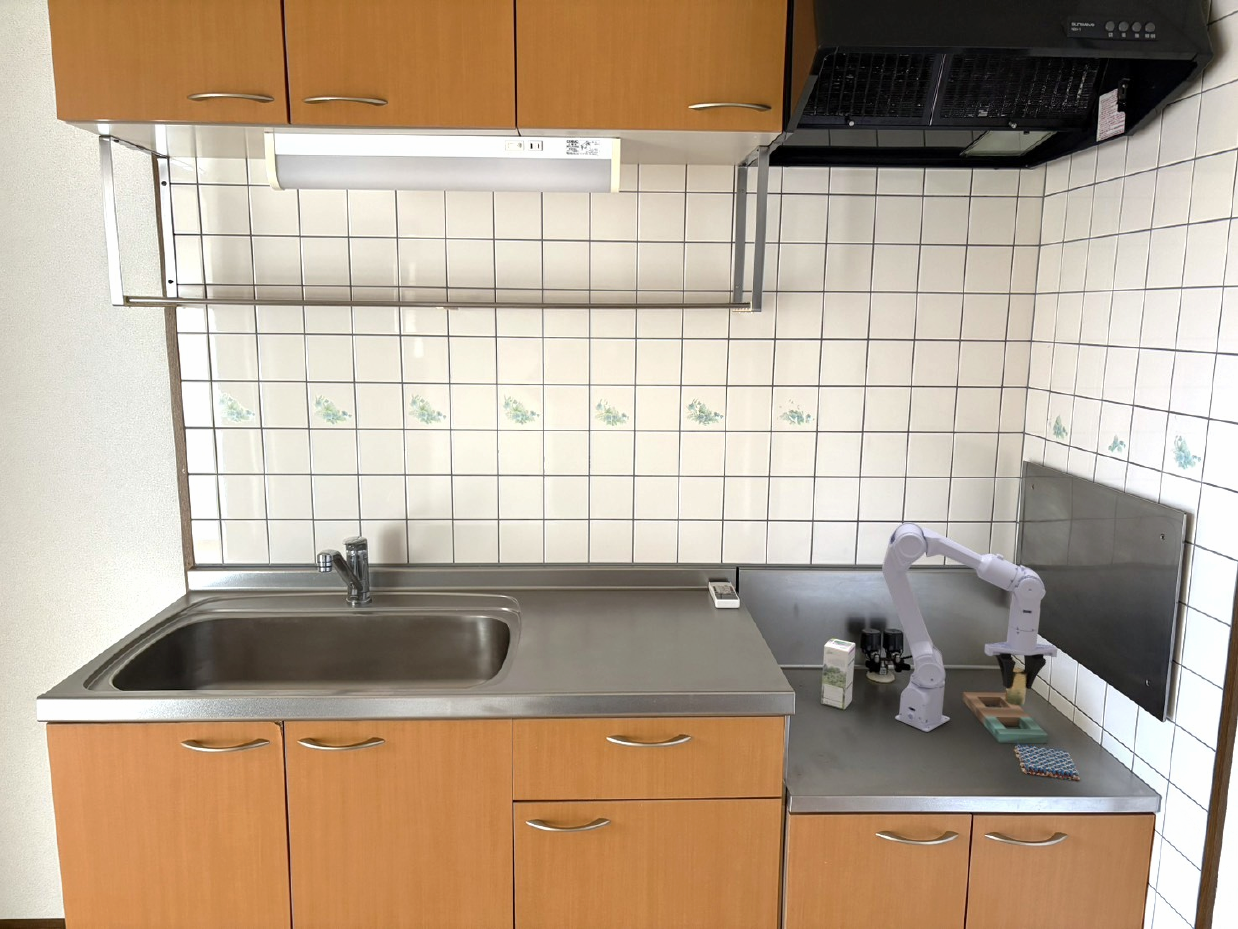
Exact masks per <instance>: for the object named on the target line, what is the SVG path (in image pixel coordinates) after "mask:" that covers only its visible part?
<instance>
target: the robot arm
mask: <svg viewBox="0 0 1238 929" xmlns="http://www.w3.org/2000/svg"><path fill="white" fill-rule="evenodd" d="M924 554H925V555H926V556H925V557H926V558H930V557H935V556H938V555H939V556H940V555H941V556H943V557H944V558H945V557H946V558H948V559H950V560H951V561H952V560H953V561H955V562H957V563H960V564H962V565H965V566H966V567H969V568H971V569H973V570H975V572H976V575H977V577H978V578H980V579H981V580H983V581H985V582H987V583H990V584H992V585H995V586H996V587H998V588H1001V589H1003V590H1004V591H1008V592H1012V595H1011V602H1010V605H1009V615H1008V616H1009V617H1008V625H1007V626H1008V627H1007V634H1006V641H1002V642H994V643H985V644H984V654H986V655H987V656H988V657H993V656H994V657H995V658H996V661H997V664H998V665H999V666H998V667H999V669H1000V673H1001V678H1002V686H1004V688H1005V689H1006V688H1007V689H1010V687H1011V682H1012V673H1013V669H1014V667H1015V666H1016V664H1017V662H1016V661H1015V660H1014V659H1013V656H1024V657H1023V658H1024V659H1023V660H1024V670H1026V671H1027V672H1028V676H1027V684H1026V690H1031V689H1032V686H1033V685H1034V681H1035V680H1036V678H1037V675H1038V674H1039V673H1040V671H1042V669H1043V668H1044V667H1045V665H1046V663H1047V659H1045V658H1044V656H1045V657H1048V656H1049V657H1051V658H1057V656H1058V648H1057V647H1056V646H1055V645H1054V644H1043V643H1042V644H1041V643H1037V642H1038V634H1039V625H1040V624H1039V623H1040V616H1041V602H1042V601H1041V600H1043V598H1044V597H1045V595H1046V593H1047V591H1046V590H1045V584H1044V582H1043V581H1042V579H1041V577H1040V576H1039V574H1038V573H1037V572H1035V571H1034V570H1033V569H1032V568H1030V567H1026V566H1024V565H1022V564H1020V565H1017V564H1014V563H1012V562H1010V561H1008V560H1007V559H1004V558H1005V556H1003V554H1000V553H996V555H995V554H993V553H991V552H990V553H987V554H982V555H981V554H980V553H978V552H975V551H973V550H971V549H969V548H968V547H966V546H964V545H962V544H961V543H959V542H955V541H954V540H952V539H950V538H948V537H946V536H944V535H942V534H941V533H939V532H936V531H934V530H932V529H930V528H929V527H925V526H922V528H921V526H920V525H918V524H917V523H914V522H909V521H908V522H904V523H901V524H899V525H898V526H897V527H896V529H894V530H893V532H892V533H891V535H890V536H889V541H888V545H887V549H886V552H885V556H884V559H883V563H882V567H881V568H882V569H881V571H882V575H883V578H884V580H885V582H886V585H887V589H888V591H889V593H890V596H891V600H892V601H893V604H894V607H895V609H896V612H897V615H898V618H899V620H900V623H901V626H902V628H903V631H904V635H905V636H906V639H907V642H908V644H909V649H910V652H911V656H912V661H913V667H914V671H913V672H912V673H911V674H910V678H909V683H908V685H907V687H905V688H903V690H902V692H901V693H900V700H899V714H898V715H896V716H895V720H897V721H899V722H902V723H905V724H906V725H909V726H912V727H913V728H916V729H918V730H920V731H923V732H925V733H927V732H928V733H929V732H930V731H932V730H934V729H935V728H939V726H942V725H944V723H946V722H948V721H950V720H951V719H950V717H949V716H946V715H943V707H944V696H945V687H946V685H945V684H946V680H945V679H946V670H945V667H944V663H943V661H944V660H943V659H944V658H943V655H942V652H941V651H940V650H939V649H938V647H936V646H935V645H934V643H933V640H932V638H931V636H930V635H929V632H928V629H927V626H926V624H925V621H924V618H923V615H922V613H921V611H920V610H921V609H920V607H919V605H918V602H917V599H916V597H915V594H914V591H913V589H912V586H911V585H912V584H911V583H910V581H909V578H908V575H907V573H908V570H909V569H910V568H911V566H912V564H913V563H915V562H917V560H919V559H921V558H922V556H924Z"/></svg>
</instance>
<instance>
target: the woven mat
mask: <svg viewBox="0 0 1238 929" xmlns="http://www.w3.org/2000/svg"><path fill="white" fill-rule="evenodd" d="M1016 744H1017V745H1016V746H1014V748H1013V751H1014V752H1015V757H1016V758H1017V759H1018V758H1019V759H1018V760H1019V762H1020V763H1019V766H1020V767H1021V768H1020V769H1021V771H1022V773H1024V774H1027V773H1030V774H1029V775H1034V774H1036V776H1041V777H1042V776H1043V777H1048V778H1050V777H1051V778H1056V777H1062V778H1061V779H1063V778H1064V777H1066V778H1071V779H1074V781H1076V780H1077V781H1080V780H1081V778H1080V777H1079V774H1080V773H1079V770H1077V769H1076V768H1077V766H1076V765H1075V763H1074V761H1073V759H1072V758H1071V755H1070V753H1069V752H1067V750H1063V751H1062V748H1059V750H1058V749H1053V748H1052V747H1051V748H1045V747H1044V746H1042V748H1041V747H1037V746H1036V745H1034V746H1033V745H1032V746H1031V745H1028V744H1025V745H1023V744H1021V745H1020V743H1016ZM1042 772H1043V773H1042ZM1068 775H1069V776H1068ZM1071 779H1070V780H1071Z"/></svg>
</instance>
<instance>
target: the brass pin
mask: <svg viewBox="0 0 1238 929" xmlns="http://www.w3.org/2000/svg"><path fill="white" fill-rule="evenodd" d="M1027 676H1028V672H1027V671H1026V670H1025V668H1020V667H1015V666H1014V669H1013V673H1012V682H1011V687H1010V689H1007V688H1006V687H1005V693H1006V695H1005V701H1006V702H1007V703H1009V704H1012V705H1018V706H1019V707H1020V706H1023V705H1025V700H1026V692H1027V688H1026V684H1027Z"/></svg>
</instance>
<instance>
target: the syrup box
mask: <svg viewBox="0 0 1238 929" xmlns="http://www.w3.org/2000/svg"><path fill="white" fill-rule="evenodd" d="M855 655H856V643H855V642H850V641H847V640H841V639H838V638H831V639H829V640H827V641H826V643H825V644H824V646H823V662H822V678H821V679H822V680H821V696H820V704H821V705H826V706H829V707H833V708H837V709H840V710H845V709H846V708H847V707H848V706H849V705H850V704H851V702H852V700H853V683H854V682H853V681H854V667H855V658H856V657H855Z"/></svg>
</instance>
